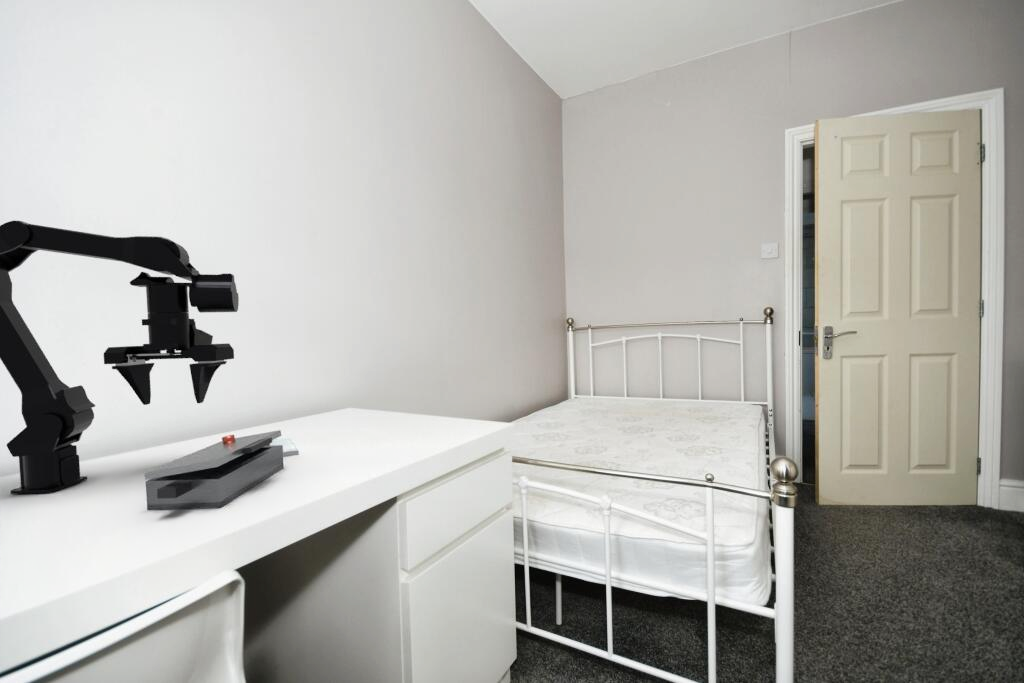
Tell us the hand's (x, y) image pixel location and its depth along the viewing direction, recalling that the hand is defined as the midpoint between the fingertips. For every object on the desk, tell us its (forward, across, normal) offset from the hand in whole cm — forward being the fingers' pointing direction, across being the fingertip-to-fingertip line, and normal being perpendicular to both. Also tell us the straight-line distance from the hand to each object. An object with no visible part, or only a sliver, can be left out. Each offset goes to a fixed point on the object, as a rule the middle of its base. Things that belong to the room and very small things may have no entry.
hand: (173, 403), depth 81 cm
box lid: (+7, -14, +8) cm, 17 cm away
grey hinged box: (+12, -13, +8) cm, 19 cm away
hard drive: (+13, -10, -13) cm, 21 cm away
